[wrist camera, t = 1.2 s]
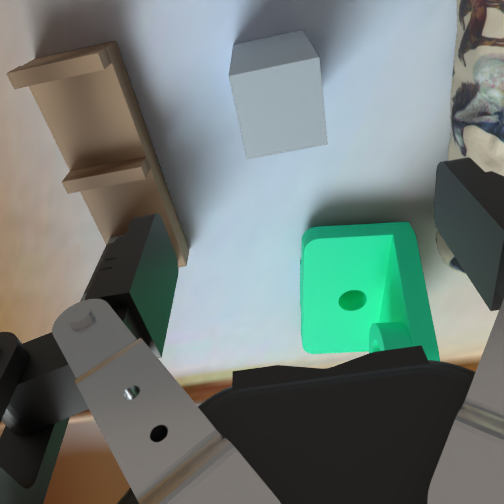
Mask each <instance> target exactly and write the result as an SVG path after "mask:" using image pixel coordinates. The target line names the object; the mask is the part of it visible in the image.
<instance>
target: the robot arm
mask: <svg viewBox="0 0 504 504" xmlns="http://www.w3.org/2000/svg"><path fill="white" fill-rule="evenodd" d="M434 219H435V224H436V227H437V230H438V232H439V234H440V235H441V237H442V238H443V240H444V241H445V243H446V244H447V246H448V247H449V249H450V250H451V252H452V253H453V255H454V256H455V258H456V259H457V261H458V262H459V264H460V265H461V267H462V268H463V270H464V271H465V273H466V274H467V276H468V277H469V279H470V280H471V282H472V283H473V285H474V286H475V288H476V289H477V291H478V292H479V294H480V295H481V297H482V298H483V300H484V302H485V303H486V305H487V306H488V308H489V309H490V311H494V310H499V312H498V315H497V318H496V320H495V323H494V326H493V328H492V331H491V333H490V336H489V339H488V341H487V344H486V347H485V349H484V352H483V354H482V357H481V360H480V362H479V365H478V368H477V370H476V372H474V371H472V370H469V369H466V368H464V367H461V366H458V365H454V364H450V363H446V362H440V361H434V360H428V359H427V357H426V354H425V352H424V350H423V347H422V345H420V346H413V347H406V348H399V349H391V350H384V351H377V352H372V353H369V354H367V355H364V356H361V357H359V358H356V359H353V360H351V361H348V362H345V363H342V364H340V365H337V366H334V367H331V368H327V369H318V368H306V367H293V366H280V365H276V366H269V367H262V368H255V369H247V370H240V371H233V383H232V387H229V388H227V389H224V390H222V391H220V392H219V393H217V394H215V395H213V396H212V397H210V398H209V399H207V400H206V401H204V402H203V403H202V404H201V405H199V406H198V407H197V405H196V404H195V403H194V402H193V401H192V399H191V398H190V397H189V396H188V394H187V393H186V392H185V391H184V390H183V388H182V387H181V386H180V385H179V383H178V382H177V381H176V380H175V379H174V377H173V376H172V375H171V374H170V373H169V371H168V370H167V369H166V368H165V366H164V365H163V364H162V363H161V362H160V360H159V359H158V358H161V357H162V352H163V347H164V342H165V338H166V333H167V328H168V323H169V318H170V313H171V308H172V303H173V298H174V293H175V288H176V283H177V278H178V262H177V257H176V254H175V251H174V249H173V246H172V243H171V241H170V238H169V236H168V233H167V230H166V228H165V225H164V222H163V220H162V218H161V216H160V215H159V214H158V213H155V214H150V215H144V216H139V217H134V218H132V220H131V222H130V225H129V227H128V230H127V232H126V234H125V236H120V237H118V238H117V239H116V240H115V241H114V242H113V243H112V244H111V245H110V246H109V247H108V249H107V251H106V253H105V255H104V258H103V262H101V264H100V267H99V271H98V272H97V273H96V276H95V278H94V280H93V282H92V285H91V287H90V289H89V291H88V294H87V296H86V298H85V300H84V301H81V302H79V303H76V304H74V305H73V306H71V307H69V308H68V309H66V310H65V311H64V312H63V313H62V314H61V315H60V316H59V317H58V318H57V319H56V321H55V323H54V325H53V328H52V332H51V333H49V334H46V335H44V336H41V337H39V338H36V339H33V340H31V341H28V342H26V343H23V344H22V343H21V342H20V341H19V339H18V338H17V337H16V336H15V335H14V334H13V333H10V332H0V422H1V421H2V422H3V423H4V424H5V425H6V426H5V428H4V430H3V433H2V435H1V438H0V504H43V502H44V499H45V496H46V493H47V489H48V486H49V483H50V480H51V476H52V473H53V470H54V467H55V463H56V460H57V457H58V453H59V450H60V447H61V443H62V441H63V437H64V434H65V431H66V428H67V424H68V421H69V418H70V417H71V416H73V415H75V414H78V413H80V412H82V411H85V410H87V409H89V410H90V411H91V413H92V415H93V417H94V419H95V421H96V423H97V425H98V427H99V428H100V430H101V432H102V434H103V436H104V438H105V440H106V442H107V444H108V445H109V447H110V449H111V451H112V453H113V455H114V456H115V459H116V460H117V462H118V464H119V466H120V468H121V470H122V472H123V474H124V476H125V478H126V479H127V481H128V483H129V485H130V488H129V490H128V491H127V492H126V493H125V495H124V496H123V497H122V498H121V500H120V501H119V502H118V503H117V504H504V176H502V175H500V174H498V173H495V172H493V171H489V172H485V171H484V170H483V169H481V168H480V167H479V166H478V165H477V164H476V163H475V162H474V161H473V160H472V159H471V158H469V157H466V158H461V159H455V160H450V161H444V162H440V163H439V164H438V166H437V170H436V185H435V201H434Z"/></svg>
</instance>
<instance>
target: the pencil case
mask: <svg viewBox="0 0 504 504" xmlns="http://www.w3.org/2000/svg"><path fill="white" fill-rule="evenodd" d="M450 112H451V138H450V143H449V147H448V161H450V160H455V159H461V158H466V157H469V158H471V159H472V160H473V161H474V162H475V163H476V164H477V165H478V166H479V167H480V168H481V169H483V170H484V171H485V172H489V171H493V172H495V173H498V174H500V175H502V176H504V0H457V37H456V46H455V55H454V65H453V76H452V86H451V107H450ZM436 243H437V248H438V251H439V253H440V255H441V257H442V259H443V261H444V262H445V263H446V264H447V265H448V266H449V267H450V268H452V269H453V270H455V271H456V272H458V273H461V274H464V275H467V274H466V273H465V271H464V270H463V268H462V267H461V265H460V264H459V262H458V261H457V259H456V258H455V256H454V255H453V253H452V252H451V250H450V249H449V247H448V246H447V244H446V243H445V241H444V240H443V238H442V237H441V235H440V234H439V232H438V230H437V232H436Z"/></svg>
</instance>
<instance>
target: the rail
mask: <svg viewBox="0 0 504 504" xmlns="http://www.w3.org/2000/svg"><path fill="white" fill-rule="evenodd" d="M6 74H7V76H8V78H9V80H10V82H11V84H12V86H13V87H14V89H18V88H22V87H27V86H29V88H30V90H31V92H32V94H33V96H34V98H35V100H36V102H37V104H38V106H39V108H40V110H41V112H42V114H43V116H44V119H45V121H46V123H47V125H48V127H49V129H50V131H51V133H52V135H53V137H54V139H55V141H56V143H57V145H58V147H59V149H60V151H61V153H62V155H63V157H64V159H65V161H66V163H67V165H68V168H69V170H70V172H69V173H68V175H67V176H66V177H65V178H64V180H63V181H62V183H63V185H64V187H65V189H66V191H67V193H74V192H79V191H80V192H81V194H82V196H83V198H84V200H85V202H86V204H87V206H88V208H89V210H90V212H91V215H92V217H93V219H94V221H95V223H96V225H97V227H98V229H99V231H100V233H101V235H102V237H103V239H104V241H105V243H106V247H105V249H104V251H103V254H102V256H101V258H100V260H99V262H98V264H97V267H96V269H95V271H94V273H93V275H92V277H91V279H90V282H89V284H88V286H87V288H86V290H85V292H84V294H83V297H82V299H81V301H84V300H85V298H86V296H87V294H88V291H89V289H90V287H91V285H92V282H93V280H94V278H95V276H96V273H97V272H98V271H99V267H100V264H101V262H103V258H104V255H105V253H106V251H107V249H108V247H109V246H110V245H111V244H112V243H113V242H114V241H115V240H116V239H117V238H118V237H120V236H125V234H126V232H127V230H128V227H129V225H130V222H131V220H132V218H134V217H139V216H144V215H150V214H155V213H158V214H159V215H160V216H161V218H162V220H163V222H164V225H165V228H166V230H167V233H168V236H169V238H170V241H171V243H172V246H173V249H174V251H175V254H176V257H177V262H178V267H183V266H186V265H187V260H188V254H189V248H188V245H187V242H186V239H185V236H184V233H183V231H182V228H181V225H180V222H179V219H178V216H177V214H176V211H175V208H174V205H173V202H172V199H171V196H170V194H169V191H168V188H167V185H166V182H165V179H164V176H163V174H162V171H161V168H160V165H159V162H158V159H157V157H156V154H155V151H154V148H153V145H152V142H151V139H150V137H149V134H148V131H147V128H146V125H145V122H144V120H143V117H142V114H141V111H140V108H139V105H138V102H137V100H136V97H135V94H134V91H133V88H132V85H131V83H130V80H129V77H128V74H127V71H126V68H125V65H124V63H123V60H122V57H121V54H120V51H119V48H118V45H117V43H116V41H112V42H108V43H104V44H99V45H95V46H90V47H86V48H81V49H77V50H73V51H68V52H64V53H59V54H55V55H50V56H46V57H41V58H37V59H34V60H32V61H30V62H28V63H27V64H25V65H23V66H19V67H17V68H15V69H14V70H12V71H10V72H8V73H6ZM81 301H80V302H81Z"/></svg>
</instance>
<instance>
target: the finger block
mask: <svg viewBox="0 0 504 504" xmlns="http://www.w3.org/2000/svg"><path fill="white" fill-rule="evenodd" d="M229 80H230V84H231V89H232V93H233V98H234V103H235V107H236V112H237V116H238V121H239V126H240V130H241V135H242V139H243V144H244V149H245V153H246V158H247V159H251V158H257V157H262V156H267V155H273V154H278V153H283V152H289V151H294V150H300V149H305V148H310V147H316V146H321V145H326V144H328V142H327V132H326V121H325V111H324V100H323V90H322V79H321V69H320V59H319V56H318V54H317V52H316V51H315V49H314V47H313V46H312V44H311V42H310V41H309V39H308V37H307V36H306V34H305V33H304V31H303V30H298V31H294V32H289V33H284V34H280V35H275V36H271V37H266V38H261V39H257V40H252V41H248V42H243V43H238V44H234V45H233V50H232V57H231V64H230V71H229Z"/></svg>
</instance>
